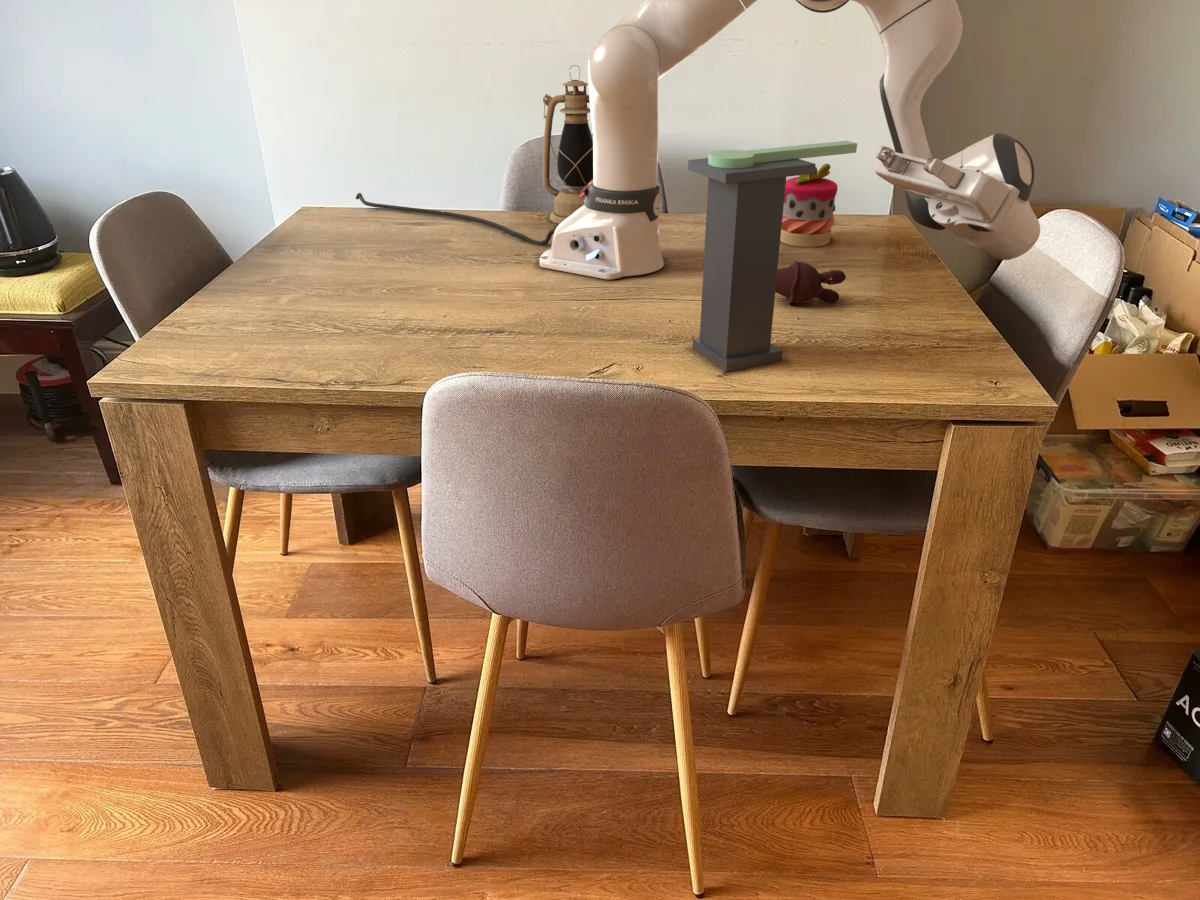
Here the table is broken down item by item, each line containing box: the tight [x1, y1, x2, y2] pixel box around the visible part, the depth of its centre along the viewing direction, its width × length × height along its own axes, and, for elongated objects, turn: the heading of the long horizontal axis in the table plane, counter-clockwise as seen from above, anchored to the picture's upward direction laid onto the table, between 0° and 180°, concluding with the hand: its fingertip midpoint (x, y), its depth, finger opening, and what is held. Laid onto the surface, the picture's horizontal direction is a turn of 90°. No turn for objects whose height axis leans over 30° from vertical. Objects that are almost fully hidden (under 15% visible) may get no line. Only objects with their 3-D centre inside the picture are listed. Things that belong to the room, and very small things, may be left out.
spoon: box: [707, 140, 858, 169], centre depth 111 cm, size 21×6×1 cm, turn 115°
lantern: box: [542, 64, 593, 224], centre depth 181 cm, size 14×12×30 cm
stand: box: [687, 157, 817, 373], centre depth 116 cm, size 13×9×26 cm
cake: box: [780, 162, 839, 248], centre depth 169 cm, size 10×11×15 cm
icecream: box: [775, 259, 847, 305], centre depth 140 cm, size 7×7×15 cm
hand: (904, 157), depth 120 cm, fingers open, 8 cm apart
